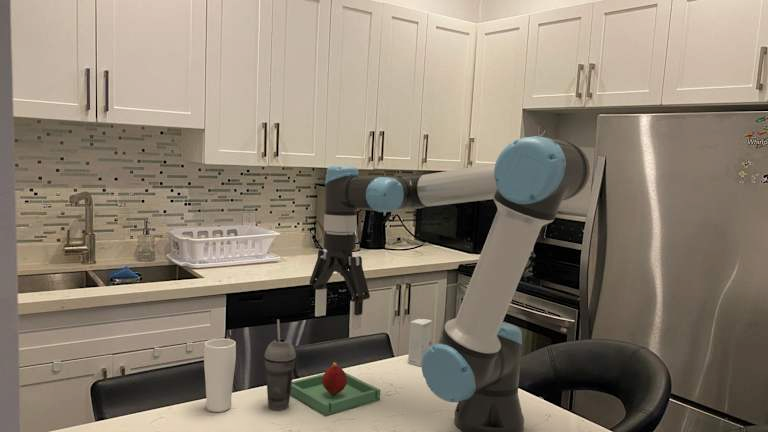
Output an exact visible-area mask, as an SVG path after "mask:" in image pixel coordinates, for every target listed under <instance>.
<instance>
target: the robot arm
mask: <svg viewBox="0 0 768 432" xmlns="http://www.w3.org/2000/svg"><path fill="white" fill-rule="evenodd" d="M590 173H591V167H590V162H589V158H588V156H587V155H586V153H585V151H583V149H582V148H581V147H580V146H578V145H577V144H575V143H573V142H570V141H567V140H561V139H556V138H555V139H554V138H549V137H544V136H539V135H535V136H528V137H527V136H526V137H521V138H518V139H516V140H514V141H512V142H510V143H509V144H507V145H506V147H504V148H503V149H502V151H501V152H500V153H499V155H498V157H497V158H496V161H495V163H489V164H483V165H477V166H472V167H471V166H470V167H463V168H458V169H457V168H456V169H452V170H445V171H440V172H433V173H427V174H420V175H415V176H413V175H412V176H404V177H401V176H400V177H399V176H362V175H361V176H360V175H359V168H358V167H355V166H338V165H337V166H335V165H332V166H328V167H327V169H326V173H325V183H324V186H325V187H324V188H325V189H324V191H325V194H324V195H325V196H324V199H325V200H324V214H323V215H324V218H323V219H324V221H323V230H324V231H325V233H324V234H323V248H324V249H319V250H317V251H318V252H317V259H316V262H315V265H314V267H313V271H312V273H311V276H310V279H309V286H313V289H314V301H315V303H314V306H315V308H314V317H321V316H322V317H323V316H326V315H327V314H326V313H327V293H328V292H327V286H326V285H327V284H328V282H329V281H330V279H331V277H332V276H333V274H334V273H335V272H336V273H338V274H340V276H342V277H343V279H344V282H345V283H346V286H347V288H348V291H349V293H350V295H351V297H352V298H351V300H350V303H349V307H350V308H349V327H348V328H349V330H355V329H361V328H362V315H363V310H364V309H363V307H364V301H366V300H368V299H370V298H371V295H370V291H369V288H368V283H367V280H366V276H365V273H364V269H363V258H362V256H360V255H359V256H353V251H355V249H356V247H357V246H356V245H357V235H356V233H355V232H357V215H358V210H365V211H366V210H367V211H374V212H378V213H383V212H384V213H391V212H395V211H396V210H417V209H422V208H427V207H434V206H435V207H436V206H443V205H452V204H454V205H455V204H462V203H469V202H477V201H487V200H493V202H494V204H495V205H496V208H497V211H496V214H495V216H494V218H493V220H492V224H491V227H490V229H489V232H488V234H487V237H486V240H485V243H484V244H483V248H482V250H481V252H480V255H479V258H478V259H477V263H476V266H475V267H474V271H473V273H472V276H471V279H470V281H469V283H468V285H467V289H466V290H465V294H464V296H463V299H462V302H461V304H460V307H459V309H458V313H457V315H456V317H455V318H453V319H449V320H447V321H446V323H445V324H444V326H443V327H444V328H443V330H442V332H441V335H440V336H439V340H438V342H437V343H434V344H431V347H430V348H429V349H428V350H427V351H426V352H425V353H424V356H423V358H422V366H421V372H422V375H423V376H422V377H423V378H424V379H425V383H426V386H427V387H428V388H429V389H430V391H431V392H432V393H433V394H434V395H435V396H436V397H437V398H439V399H441V400H442V401H444V402H448V403H457V405H456V407H455V409H454V420H453V422H454V424H455V426H456V427H457V428H458V430H461V431H462V432H524V430H525V429H524V427H525V417H524V414H523V411H522V407H521V402H520V398H519V384H520V382H519V381H520V372H521V371H520V368H521V359H522V347H523V339H522V338H523V332H522V330H521V328H519V327H518V326H516V325H514V324H512V323H509V322H508V323H507V322H505V321H504V320H505V317H506V315H507V312H508V310H509V308H510V304H511V302H512V300H513V298H514V295H515V293H516V290H517V287H518V286H519V283H520V281H521V278H522V276H523V273H524V271H525V268H526V266H527V264H528V261H529V259H530V256H531V254H532V251H533V249H534V246H535V244H536V242H537V239H538V237H539V235H540V232H541V230H542V227H544V226H545V225H548V224H551V223H552V222H554V220H555V218H556V215H557V214H558V211H559V209H560V206H561V204H562V201H567V200H571V199H572V198H575V196H577V195H579V194H580V193H581V192H582V191H583V190H584V189H585V187H586V186H587V184H588V181H589V180H590V179H589V178H590V176H591V175H590Z"/></svg>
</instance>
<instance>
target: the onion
mask: <svg viewBox="0 0 768 432" xmlns="http://www.w3.org/2000/svg"><path fill="white" fill-rule="evenodd" d="M345 373H346V372H345V371H344V370H343V368H341V367H340V366H339V365H338V364H337V363H336V362H332V365H331V366H330V367H329V368H327V369H326V370H325V372H324V373H323V374H324V375H323V378H322V383H323V386H324V388H325V389H326V390H327V391H328V392H329V393H330V394H331V395H336V394H338V393H339V392H341V391H342V390H343V389H344V388H345V386H346V383H347V377H346V374H345Z"/></svg>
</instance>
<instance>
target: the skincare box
mask: <svg viewBox="0 0 768 432" xmlns="http://www.w3.org/2000/svg"><path fill="white" fill-rule="evenodd" d="M432 333H433V320H432V319H426V318H422V317H419V318H418V319H413V320H412V321H410V322H409V337H408V353H407V354H408V356H407V358H408V359H407V363H408V364H410V365H413V366H416V367H422V358H423V356H424V353H425V352H426V351H427V350H428V349H429V348H430V347H431V346H432V336H433V335H432Z"/></svg>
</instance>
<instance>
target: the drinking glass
mask: <svg viewBox="0 0 768 432" xmlns="http://www.w3.org/2000/svg"><path fill="white" fill-rule="evenodd" d="M236 349H237V344H236V341H235V340H233V339H230V338H212V339H209V340H207V341H205V343H204V349H203V350H204V353H203V364H204V365H203V367H204V379H205V380H204V381H205V396H206V402H205V403H206V409H207V411H209V412H213V413H222V412H226V411H228V410H229V409H230V408H231V406H232V395H233V386H234V377H235V369H236V359H237V350H236Z"/></svg>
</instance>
